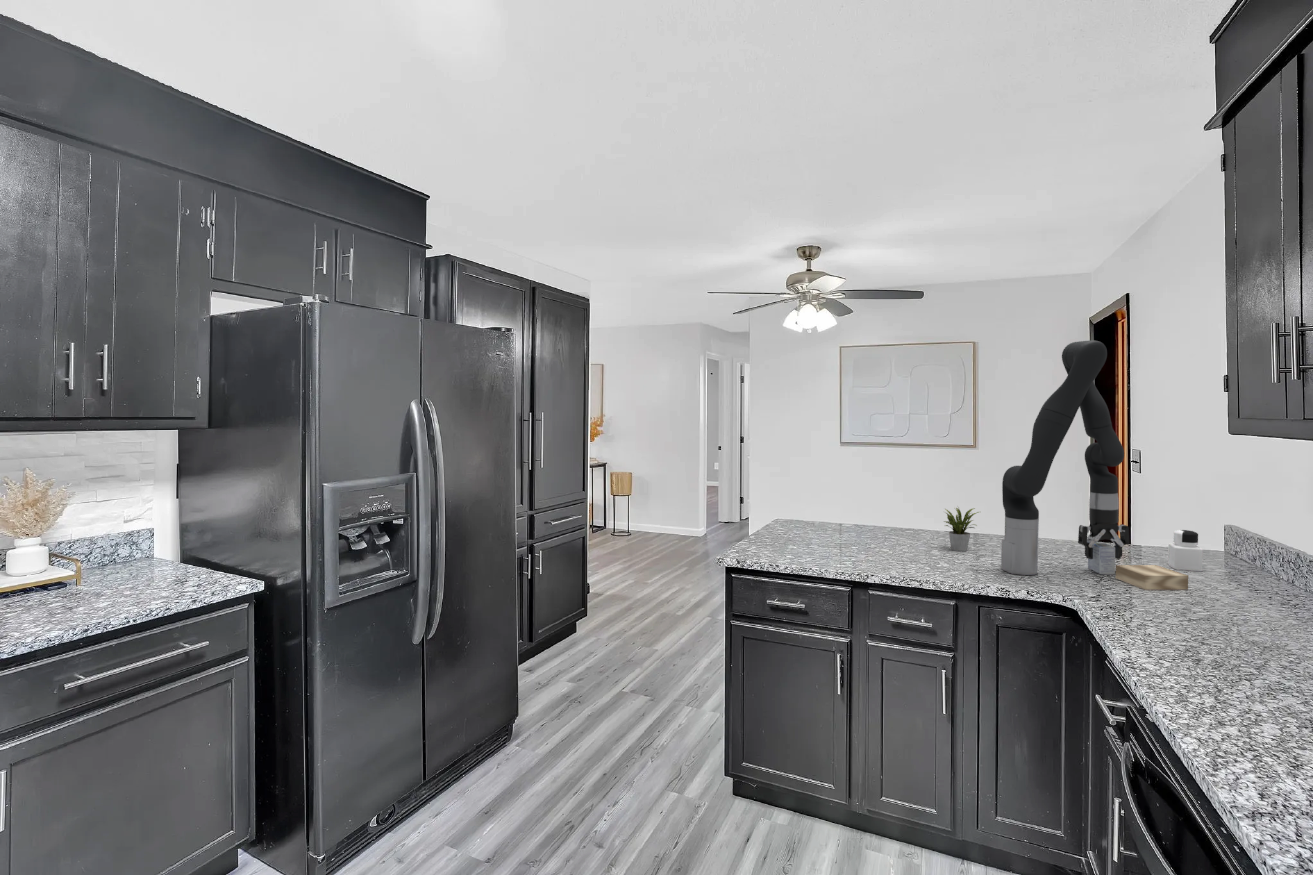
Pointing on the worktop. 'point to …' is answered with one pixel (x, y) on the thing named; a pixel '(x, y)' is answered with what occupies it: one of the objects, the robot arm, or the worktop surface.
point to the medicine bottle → (1185, 551)
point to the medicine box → (1102, 559)
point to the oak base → (1152, 577)
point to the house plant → (959, 530)
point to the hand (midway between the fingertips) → (1103, 558)
